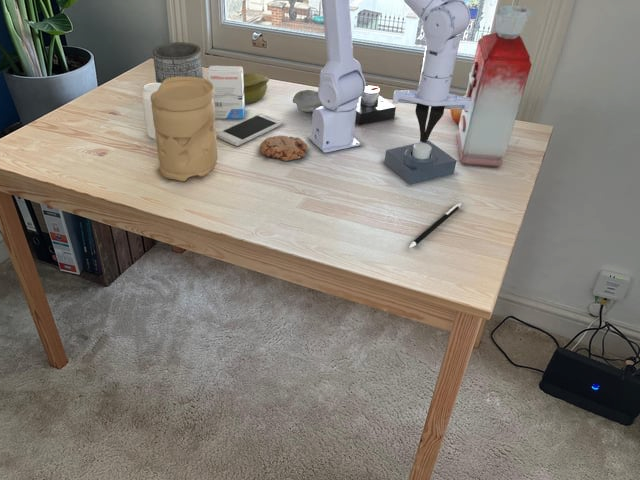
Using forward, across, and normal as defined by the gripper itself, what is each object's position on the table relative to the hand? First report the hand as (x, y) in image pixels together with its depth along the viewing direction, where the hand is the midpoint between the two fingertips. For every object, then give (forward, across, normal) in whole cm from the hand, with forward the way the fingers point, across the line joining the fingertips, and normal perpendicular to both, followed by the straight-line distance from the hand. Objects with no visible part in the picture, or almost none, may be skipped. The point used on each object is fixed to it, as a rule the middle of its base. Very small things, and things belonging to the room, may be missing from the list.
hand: (423, 140), depth 116 cm
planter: (+8, +64, -25) cm, 69 cm away
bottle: (+8, -12, -14) cm, 20 cm away
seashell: (+8, +28, -26) cm, 39 cm away
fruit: (+8, -9, -28) cm, 31 cm away
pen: (+8, -5, +19) cm, 21 cm away
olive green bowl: (+8, +47, -29) cm, 56 cm away
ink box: (+8, +48, -18) cm, 53 cm away
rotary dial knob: (+5, +14, -28) cm, 31 cm away
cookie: (+8, +30, -2) cm, 31 cm away
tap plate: (+8, +14, -28) cm, 32 cm away
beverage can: (+8, +60, -3) cm, 61 cm away
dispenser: (+8, 0, -3) cm, 9 cm away
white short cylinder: (+4, 0, 0) cm, 4 cm away
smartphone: (+8, +40, -11) cm, 43 cm away
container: (+8, +48, +10) cm, 50 cm away
